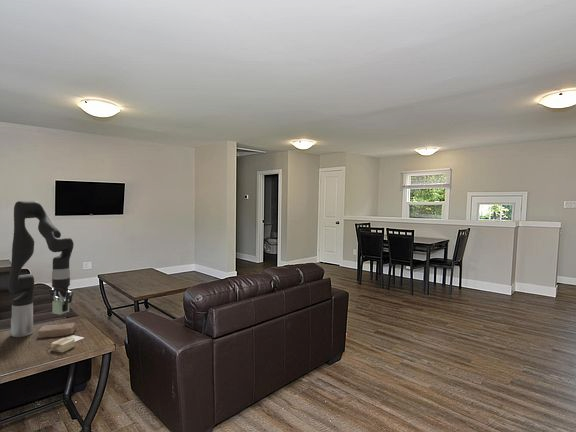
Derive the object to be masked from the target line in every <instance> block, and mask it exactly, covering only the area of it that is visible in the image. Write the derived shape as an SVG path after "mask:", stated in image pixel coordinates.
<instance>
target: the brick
mask: <svg viewBox="0 0 576 432" xmlns="http://www.w3.org/2000/svg"><path fill="white" fill-rule="evenodd" d="M76 327H77V324H76V322H70V323H69V322H67V323H63V324H51V325H50V324H48V325H43V326H41V328H40V329H38V331H37V338H38V339H42V338H51V337H60V336H61V337H62V336H63V337H64V336H71V335H74V333H75V331H76V330H77V328H76Z"/></svg>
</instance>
